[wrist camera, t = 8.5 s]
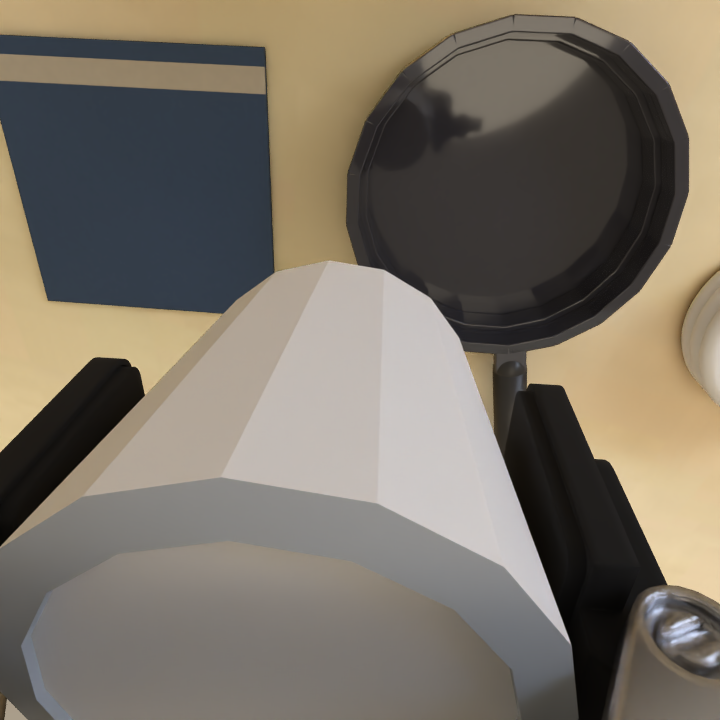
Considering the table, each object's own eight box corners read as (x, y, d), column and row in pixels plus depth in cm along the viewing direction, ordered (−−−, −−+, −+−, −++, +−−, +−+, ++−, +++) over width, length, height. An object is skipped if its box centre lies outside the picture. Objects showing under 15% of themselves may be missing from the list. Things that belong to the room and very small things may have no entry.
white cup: (510, 224, 10) (651, 498, 4) (485, 497, 14) (543, 860, 8) (153, 233, 11) (-164, 480, 5) (215, 492, 14) (74, 823, 8)
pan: (349, 314, 33) (342, 342, 30) (359, 11, 25) (351, 7, 22) (611, 334, 32) (632, 364, 29) (704, 26, 24) (745, 23, 21)
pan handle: (490, 335, 30) (494, 351, 29) (524, 333, 30) (530, 349, 28) (493, 493, 36) (497, 513, 34) (522, 492, 36) (527, 512, 34)
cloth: (50, 298, 34) (47, 300, 34) (-19, 33, 27) (-24, 33, 27) (276, 315, 33) (274, 317, 33) (265, 47, 26) (263, 47, 26)
